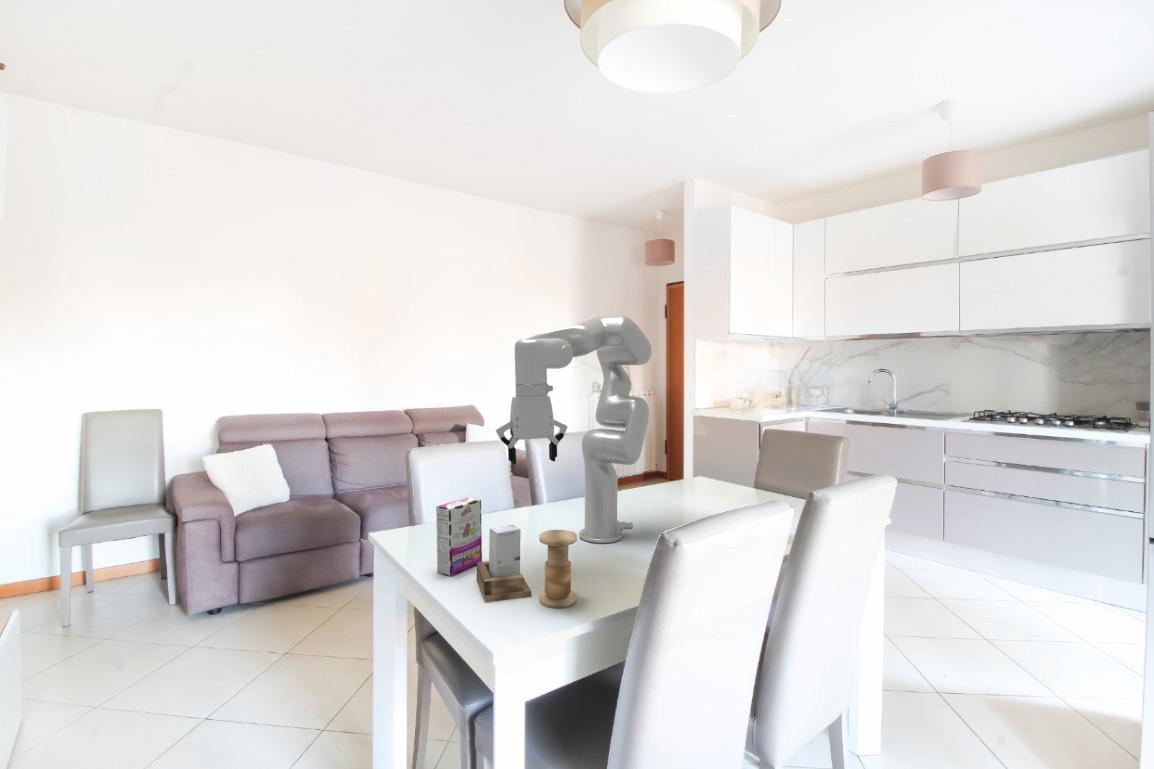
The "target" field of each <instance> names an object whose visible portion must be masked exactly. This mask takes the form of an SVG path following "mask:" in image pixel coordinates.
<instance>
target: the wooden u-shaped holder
mask: <svg viewBox="0 0 1154 769" xmlns="http://www.w3.org/2000/svg"><path fill="white" fill-rule="evenodd" d="M476 582H477V585H478V588H479V589H480V592H481V595H482V598H483V601H484V603H487V602H489V603H490V602H497V601H504V600H505V601H506V600H512V599H520V598H528V597H529V598H530V597H532V590H531V588H530V586H529V585H528V583H527V581H526V579H525V576H524V575H523V574H522V573H521V572H520V575H515V576H506V577H497V578H490V576H489V560H486V561H482V562H477V565H476Z"/></svg>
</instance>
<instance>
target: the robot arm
mask: <svg viewBox="0 0 1154 769" xmlns="http://www.w3.org/2000/svg"><path fill="white" fill-rule="evenodd" d="M595 351H596V356H597V359H598V361H599V365H600V369H601V372H602V376H603V382H602V386H601V387H602V388H601V391H600V394H599V398H598V401H597V405H596V411H595V420H596V422H597V424H599V425H600V426H602V427H607V428H614V429H607V428H606V429H605V428H595V429H594V428H593V429H590V430H588V431H586V432H585V434H584V435H583V437H582V439H581V451H582V456H583V462H584V528H583V529H581V530H579V533H578V537H579V538H580V539H581V540H582V541H585V542H589V543H596V544H610V543H614V542H615V543H616V542H618V541H620V540H621V539H623V530H625V531H626V530H633V528H634V525H633V522H625V521H619V520H618V486H619V485H618V484H619V483H618V480H619V479H618V475H617V472H616V471H617V470H616V469H615V467H614V464H617V465H625V466H631V465H634V464H636V463H637V462H638V461H639V459H640V457H641V454H642V450H643V445H644V443H645V442H644V441H645V437H646V433H647V430H648V424H649V418H650V408H649V404H648V403H647V401H646V400H645V399H644V398H642V397H639V396H636V395H635V396H632V395H630V393H631V388H632V382H631V379H630V376H629V374H628V373H627V372H626V370H625V369H624V367H623V366H643V365H645V364H647V363H648V362H649V361H650V359H651V357H652V345H651V342H650V340H649V339H648V337H647V336H646V335H645V333H644V332H643V331H642V329H641V328H640V327H639V326H638V324H637V323H636V322H635V321H633V319H631V318H629V317H628V316H625V315H612V316H611V315H609V316H607V315H606V316H598V317H593V318H590V319H587V320H585V321H582V322H579V323H577V324H574V325H571V326H566V327H563V328H560V329H559V328H557V329H554V330H550V331H545V332H542V333H537V334H535V335H533V336H530V337H527V338H526V339H518V340H516V342H515V343H514V375H515V378H514V379H515V396H512V398H511V401H510V402H511V403H510V411H509V412H510V415H509V416H510V418H509V421H508V422H507V423H505V424H503V425H502V426H500V427H498V428H496V430H495V433H496V434H497V436H498V438H499V440H500V441H501V442H502V443H503V444H504V445H506V447H507V455H508V457H507V458H508V462H510V463H511V465H512V466H515V465H517V450H516V447H515V445H516V444H517V442H519V441H523V440H524V441H525V440H536V439H548V440H549V441H550V443H549V444H548V454H549V456H548V459H549V460H550V461H552V462H556V458H558V445H559V443H560V442H561V441H562V440H563V438H564V437H565V434H566V432H567V430H568V426H567V425H566V424H565V423H562V422H561V421H558V420H556V419H554V412H553V406H552V400H551V396H549V392H553V391H554V387H553V385H549V384H548V371H547V370H549V369H550V370H551V369H552V370H555V369H557V370H558V369H563V368H566V367H568V365H570V364H571V362H572V360H573V358H578V357H583V356H587V355H588V354H590V353H593V352H595ZM555 427H558V429H559V432H557V433H556V434H555ZM615 428H617V430H616V429H615ZM618 429H625V430H618ZM507 431H509V434H510V438H509V439H508V438H507V437H506V435H505V432H507ZM554 434H555V435H554Z"/></svg>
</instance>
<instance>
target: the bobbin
mask: <svg viewBox="0 0 1154 769" xmlns="http://www.w3.org/2000/svg"><path fill="white" fill-rule="evenodd" d="M538 535H539V536H538V537H539V542H540V543H541V544H542V545H545V546H547V560H545V561H544V590H542V591H541V592H540V593H539V594H538V601H539V602H538V603H539V604H541V605H542V606H543V607H546V608H550V609H565V608H570V607H572V606H574V605H575V604H576V603H577V593H576V592H575V591H573V590H572V562H571V561H570V560H569V546H571V545H574V544H575V543H577V541H578V534H577V533H576V532H574V531H571V530H568V529H567V530H566V529H550V530H545V531H542V532H540V534H538Z"/></svg>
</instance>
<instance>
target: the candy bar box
mask: <svg viewBox="0 0 1154 769" xmlns="http://www.w3.org/2000/svg"><path fill="white" fill-rule="evenodd" d="M435 508H436V510H435V512H436V514H435V515H436V557H437V558H436V565H437V574H440V575H444V576H447V577H448V576H449V577H453V576H455V575H457V574H461V573H463V572H465V571H466V570H468V569H471V568H472V567H473V568H474V567H475V566H477V562H483V552H482V551H483V546H482V544H483V543H482V542H483V541H482V537H483V536H482V535H483V534H482V499H481V498H476V497H471V496H467V497H464V498H461V499H460V498H459V499H457V500H453V501H450V502H446V503H444V504H443V503H442V504H440V505H437V506H435Z"/></svg>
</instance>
